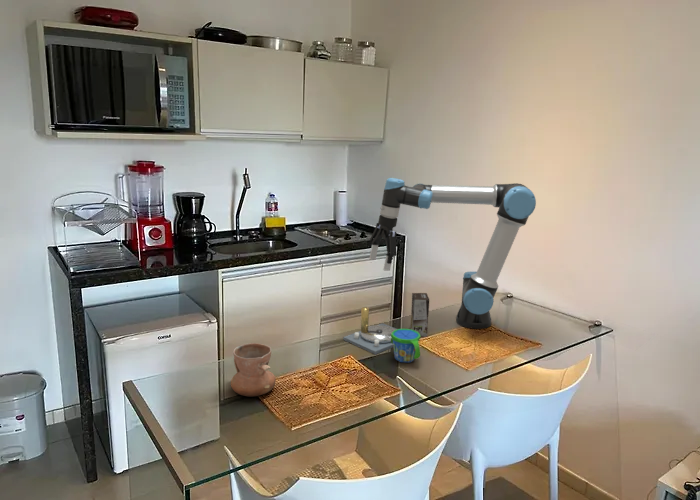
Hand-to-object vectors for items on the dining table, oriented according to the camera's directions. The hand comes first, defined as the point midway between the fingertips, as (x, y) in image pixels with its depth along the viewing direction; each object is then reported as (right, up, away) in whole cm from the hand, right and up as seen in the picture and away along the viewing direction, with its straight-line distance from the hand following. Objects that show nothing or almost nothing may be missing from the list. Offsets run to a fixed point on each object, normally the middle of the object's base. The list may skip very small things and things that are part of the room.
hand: (379, 264), depth 223 cm
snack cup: (+8, -35, -24) cm, 43 cm away
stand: (-1, -30, -7) cm, 31 cm away
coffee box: (+17, -29, +1) cm, 33 cm away
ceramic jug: (-45, -40, -48) cm, 77 cm away
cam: (-1, -29, -8) cm, 30 cm away
